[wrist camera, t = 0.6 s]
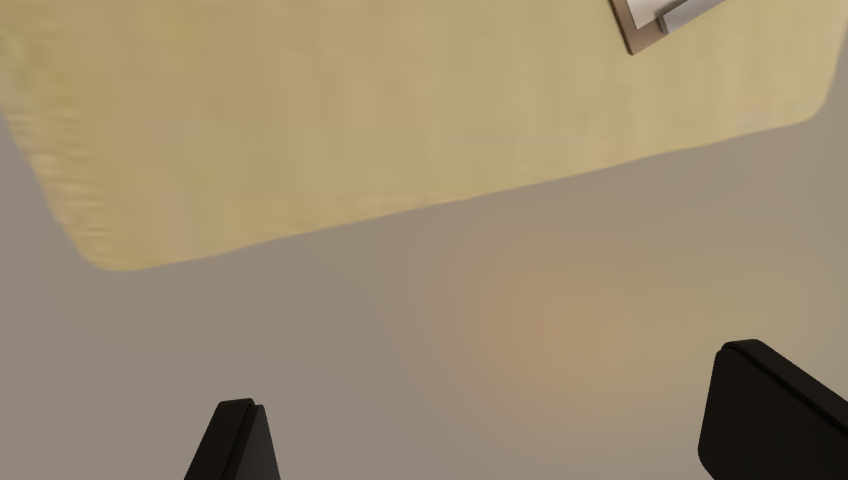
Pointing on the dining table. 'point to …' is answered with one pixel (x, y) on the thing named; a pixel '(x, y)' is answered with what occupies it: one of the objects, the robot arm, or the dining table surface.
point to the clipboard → (655, 18)
